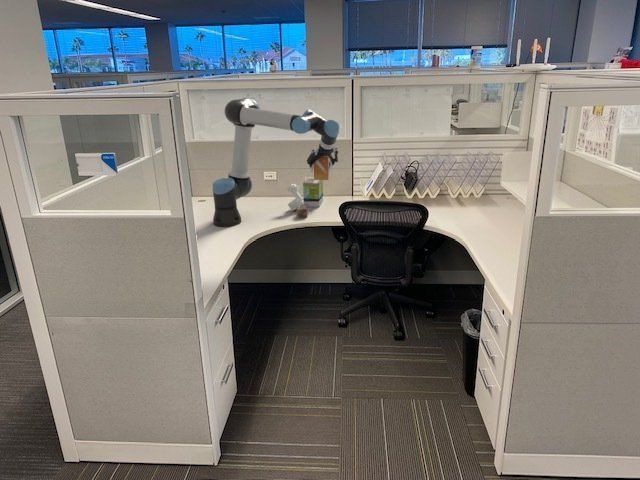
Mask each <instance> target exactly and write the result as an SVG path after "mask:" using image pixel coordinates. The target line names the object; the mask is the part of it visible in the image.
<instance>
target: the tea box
mask: <svg viewBox="0 0 640 480" xmlns="http://www.w3.org/2000/svg"><path fill="white" fill-rule="evenodd" d="M302 193H303V194H302V196H303V197H302V198H303V200H302V202H303V203H302V205H303V206H305V207H306V208H319V207H320V206H321V204H322V203H323V201H324V180H314V177H307V178H306V179H305V180H304V181H303V183H302Z"/></svg>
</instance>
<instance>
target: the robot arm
mask: <svg viewBox="0 0 640 480" xmlns="http://www.w3.org/2000/svg"><path fill="white" fill-rule="evenodd" d="M224 115H225V117H226V119H227V120H228V122H230V123H231V124H232V125H233V126H234V127H235V128H234V138H233V139H234V141H233V149H232V150H233V151H232V162H231V163H232V164H231V170H230V171H228V176H227V177H222V178H219V179H216V180H214V181H213V183H212V190H211V191H212V193H213V194H212V195H213V203H214V213H213V218H212V224H213V225H214V226H216V227H233V226H237V225H239V224H241V223H242V216H241V214H240V211H239V209H238V206H237V204H238V203H237V200H239V199H240V198H244V197H245V196H247V195H248V194H249V193H250V192H251V191H252V188H253V180H252V179H251V175H250V173H249V172H248V168H249V160H250V159H249V158H250V152H251V138H252V130H253V129H254V128H255V127H256V126H262V127H269V128H274V129H279V130H284V131H285V130H286V131H292V132H294V133H296V134H297V135H299V134H306V133H308V132H311V131H314V132H315V133H317V134H318V135H320V141H319V144H318V148H317V150H315V149H312V150H311V153H310V155H309V156H308V157H307V159H306V163H307V165H309V169H310V172H314V163H315V162H316V161H317V160H318V159H319V158H321V157H324V156H328V157H329V171H331V168H332V167H333V166H334V165H335V163H338V162H339V159H338V154H339V150H338V148H337V147H335V144H336V142H337V138H338V135H339V131H340V124H339V122H338V121H336V120H334V119H327V120H326V119H325V118H323V117H322V116H320V115H319V114H317V113H316V112H315V111H313V110H311V109H306V111H304V112H303V114H302V115H298V114H293V113H286V112H278V111H273V110H268V109H262V108H260V105H259V103H257V101H256V100H254V99H253V98H247V97H244V98H243V97H242V98H239V99H233V100H230V101H229V102H227V104H226V105H225V107H224ZM332 154H334V157H333V155H332Z"/></svg>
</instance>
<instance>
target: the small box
mask: <svg viewBox="0 0 640 480" xmlns="http://www.w3.org/2000/svg"><path fill="white" fill-rule="evenodd" d="M329 161H330V158H329V157H328V156H324V157H321V158H319V159H318V160H317V161H316V162H315V163H314V167H313V178H314V180H323V181H329V179H330V170H329Z"/></svg>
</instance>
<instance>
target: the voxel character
mask: <svg viewBox="0 0 640 480" xmlns="http://www.w3.org/2000/svg"><path fill="white" fill-rule="evenodd" d="M299 188H300V185H297V184H296V183H291V184H290V185H289V186H287V187H286V188H285V189H286V190H287V192H290V193H291V194H292V196H294V199H293V200H291V201H290V202H289V203H288V204H287V206H288V207H289V208H290V210H291V211H292V212H293V211H295V210H297V207H304V205H303V197H302V195H301V194H300V193H299V191H298V190H299ZM302 205H303V206H302Z"/></svg>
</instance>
